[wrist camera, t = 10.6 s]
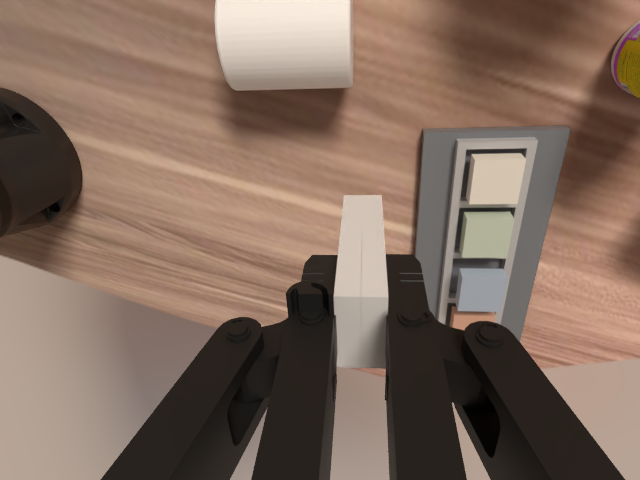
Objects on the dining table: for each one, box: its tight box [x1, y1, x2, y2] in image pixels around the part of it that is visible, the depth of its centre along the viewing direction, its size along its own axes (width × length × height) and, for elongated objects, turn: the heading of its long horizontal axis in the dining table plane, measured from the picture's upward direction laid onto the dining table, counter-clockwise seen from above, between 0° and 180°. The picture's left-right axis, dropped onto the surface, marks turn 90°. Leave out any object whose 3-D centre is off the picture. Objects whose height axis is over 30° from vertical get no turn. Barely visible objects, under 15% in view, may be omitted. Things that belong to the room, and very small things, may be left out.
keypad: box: [414, 125, 571, 342], centre depth 47 cm, size 13×26×2 cm, turn 3°
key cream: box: [466, 153, 526, 204], centre depth 41 cm, size 4×4×2 cm
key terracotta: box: [449, 306, 496, 330], centre depth 50 cm, size 4×4×2 cm
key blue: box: [455, 268, 507, 312], centre depth 46 cm, size 4×4×2 cm
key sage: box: [459, 212, 514, 258], centre depth 44 cm, size 4×4×2 cm
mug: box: [215, 0, 353, 91], centre depth 34 cm, size 12×10×8 cm
